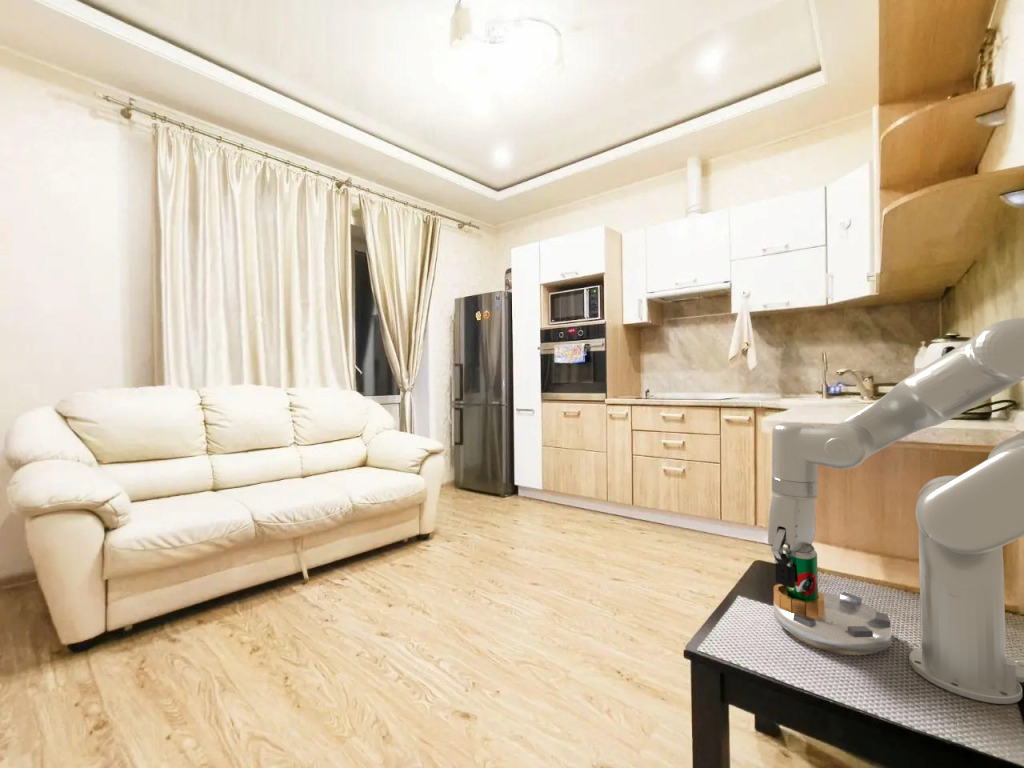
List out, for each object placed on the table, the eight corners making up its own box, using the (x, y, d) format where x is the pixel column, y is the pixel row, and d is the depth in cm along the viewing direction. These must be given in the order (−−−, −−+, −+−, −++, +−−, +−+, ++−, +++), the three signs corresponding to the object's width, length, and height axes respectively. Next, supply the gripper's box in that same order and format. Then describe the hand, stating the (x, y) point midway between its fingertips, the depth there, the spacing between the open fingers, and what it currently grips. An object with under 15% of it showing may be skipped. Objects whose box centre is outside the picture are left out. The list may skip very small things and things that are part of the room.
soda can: (824, 604, 86) (823, 547, 84) (808, 615, 84) (806, 557, 82) (797, 591, 91) (795, 536, 88) (781, 601, 89) (779, 546, 86)
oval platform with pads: (806, 594, 97) (805, 571, 97) (910, 633, 82) (909, 606, 82) (753, 616, 89) (753, 590, 89) (859, 664, 73) (858, 633, 73)
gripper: (792, 478, 95) (792, 563, 95) (751, 490, 85) (750, 585, 85) (834, 485, 89) (833, 576, 89) (795, 498, 79) (794, 601, 79)
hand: (793, 579), depth 87 cm, fingers closed on soda can, 5 cm apart
